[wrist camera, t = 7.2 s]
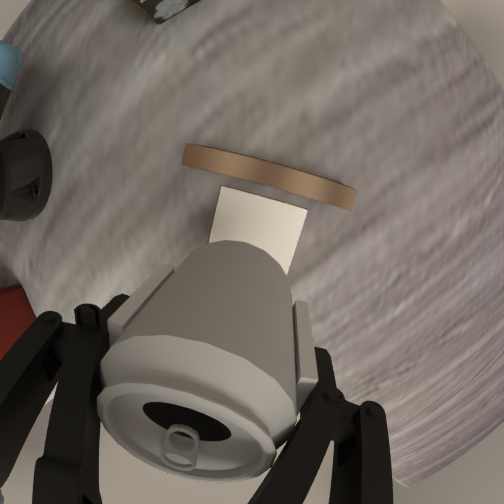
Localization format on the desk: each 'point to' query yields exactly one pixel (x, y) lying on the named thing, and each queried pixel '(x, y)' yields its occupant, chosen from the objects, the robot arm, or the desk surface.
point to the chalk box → (162, 8)
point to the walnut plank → (270, 175)
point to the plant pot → (13, 316)
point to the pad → (258, 223)
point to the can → (207, 368)
